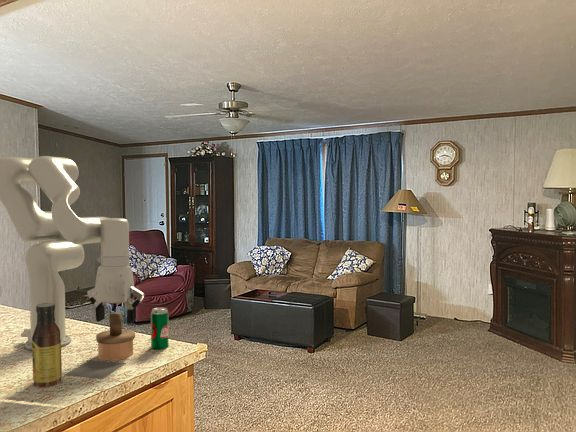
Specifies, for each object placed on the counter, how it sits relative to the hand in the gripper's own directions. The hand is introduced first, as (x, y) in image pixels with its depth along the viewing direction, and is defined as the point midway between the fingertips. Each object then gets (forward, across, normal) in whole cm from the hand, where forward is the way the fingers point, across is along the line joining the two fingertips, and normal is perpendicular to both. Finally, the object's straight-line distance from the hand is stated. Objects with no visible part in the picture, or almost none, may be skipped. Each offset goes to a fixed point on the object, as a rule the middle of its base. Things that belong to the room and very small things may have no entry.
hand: (115, 321), depth 133 cm
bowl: (+10, 0, 0) cm, 10 cm away
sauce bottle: (+10, -5, -22) cm, 24 cm away
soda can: (+10, +9, +9) cm, 16 cm away
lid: (+5, 0, 0) cm, 5 cm away
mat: (+10, +1, -11) cm, 15 cm away
